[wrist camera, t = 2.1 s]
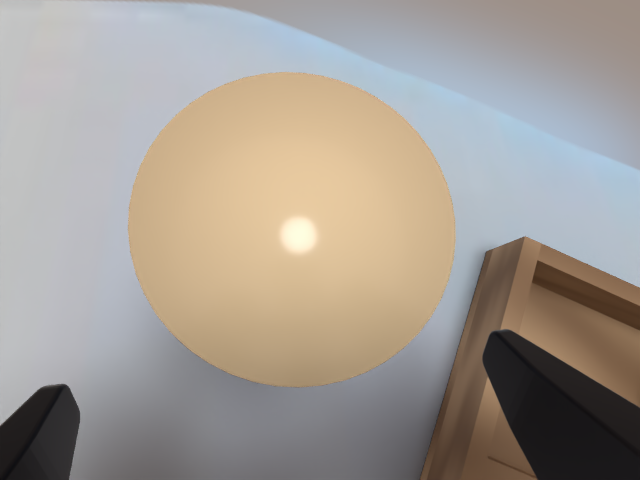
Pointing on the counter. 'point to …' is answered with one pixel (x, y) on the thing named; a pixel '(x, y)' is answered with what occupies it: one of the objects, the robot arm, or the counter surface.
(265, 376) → the jar
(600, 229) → the counter surface
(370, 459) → the counter surface
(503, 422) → the caddy
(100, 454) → the counter surface
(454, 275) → the counter surface
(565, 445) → the robot arm
